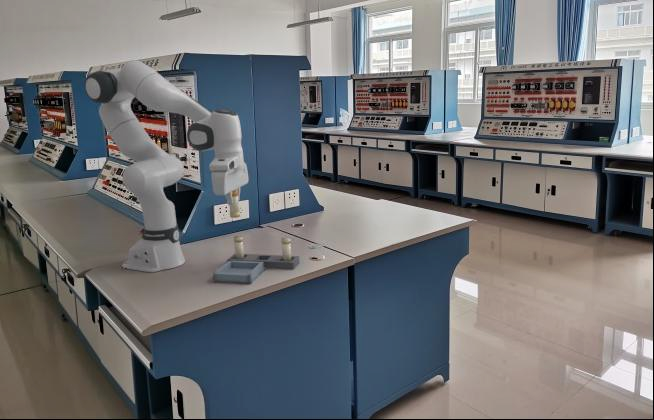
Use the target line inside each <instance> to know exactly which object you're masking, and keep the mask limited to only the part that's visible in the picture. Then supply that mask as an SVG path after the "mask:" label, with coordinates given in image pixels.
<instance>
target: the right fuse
mask: <svg viewBox="0 0 654 420" xmlns="http://www.w3.org/2000/svg"><path fill="white" fill-rule="evenodd" d="M280 239H281V251H282V255H283V261H292V260H291V256H292V247H291V244H292V243H291V242H292V241H291V239H292V238H291V237H281V238H280Z"/></svg>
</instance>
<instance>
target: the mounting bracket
mask: <svg viewBox="0 0 654 420" xmlns="http://www.w3.org/2000/svg"><path fill="white" fill-rule="evenodd" d="M323 247H325V244H320V243H311V244H309V249H310V250H314V249H317V248H319V249H321V248H323Z"/></svg>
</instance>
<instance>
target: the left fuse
mask: <svg viewBox="0 0 654 420" xmlns="http://www.w3.org/2000/svg"><path fill="white" fill-rule="evenodd" d="M243 241H244V237H243V235H235V236H233V243H234V254H235V256H236V259H244V254H245V252H244V242H243Z"/></svg>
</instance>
